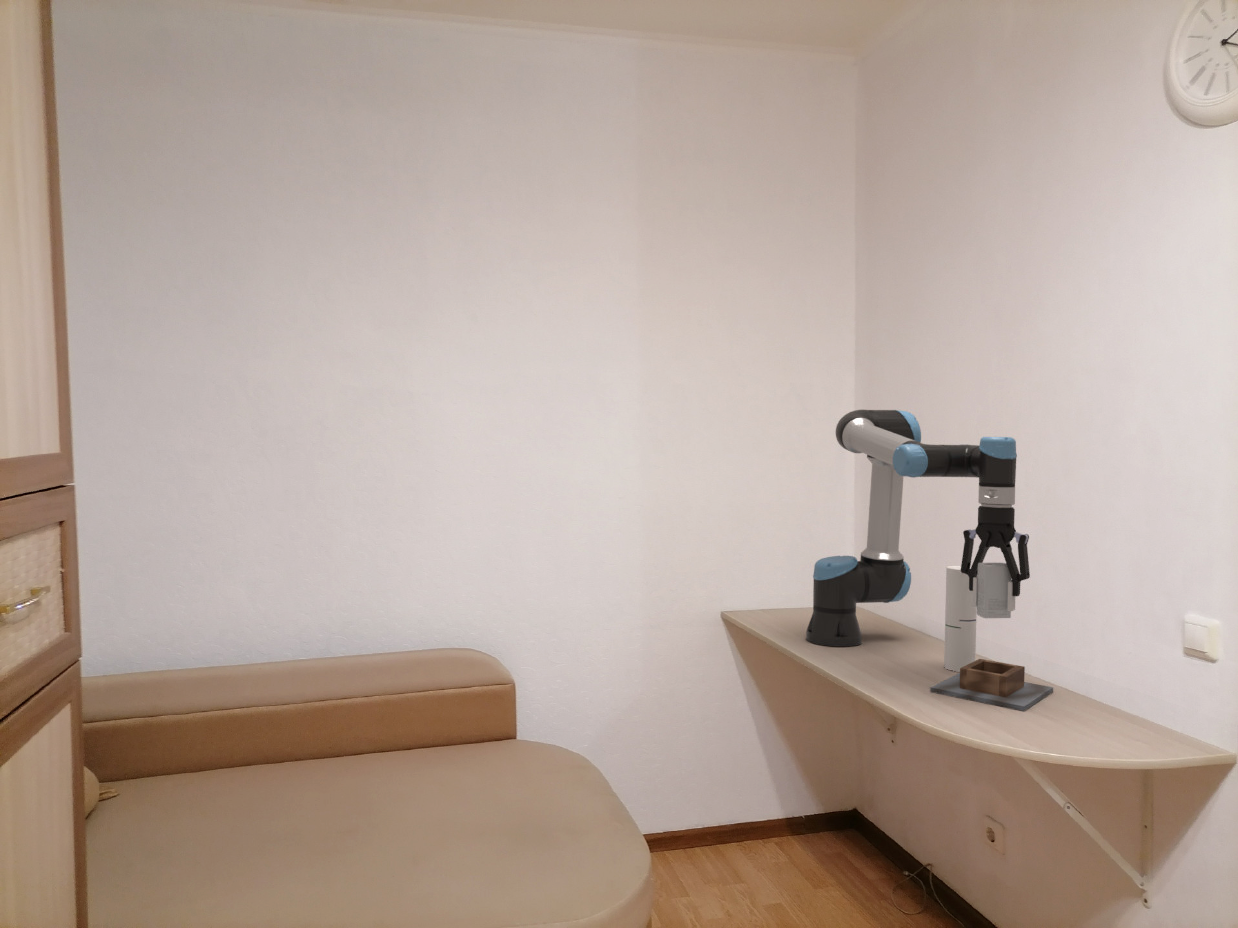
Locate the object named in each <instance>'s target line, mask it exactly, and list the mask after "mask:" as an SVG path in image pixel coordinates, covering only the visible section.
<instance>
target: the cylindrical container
mask: <svg viewBox="0 0 1238 928" xmlns="http://www.w3.org/2000/svg"><path fill="white" fill-rule="evenodd" d="M970 569H971V566H970ZM945 572H946V573H945V574H946V575H945V576H946V577H945V579H946V580H945V611H944V612H945V614H944V615H945V617H944V619H945V620H944V621H945V622H944V623H945V624H944V651H943V655H944V656H943V658H944V659H943V668H944V667H945V668H944V669H945V670H947V669H948V670H947V671H950V670H953V671H952V672H954V671H956V673H960V668H962V667H964V666H966V665H968V664H970V663H972V662H974V661H976V651H977V650H976V647H977V646H976V645H977V643H976V642H977V607H974V606H973V591H970V590H969V576H968V575H967V574H965V573H962V572H961V565H950V566H949V565H948V566H946V571H945ZM977 576H978V575H977Z"/></svg>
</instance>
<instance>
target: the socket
mask: <svg viewBox="0 0 1238 928" xmlns="http://www.w3.org/2000/svg"><path fill="white" fill-rule="evenodd" d="M1025 670H1026V668H1025V665H1023V666H1022V665H1018V664H1013V663H1005V662H1002V661H1001V662H1000V661H995V660H989V659H985V658H984V659H982V658H979V659H975V661H974V662H972V663H970V664H968V665H966V666H964V667H962V668H960V672H957V674H955V675H953V676H951V677H949V678H946V679H945V680H943V681H940V682H938V683H937V684H934V685H932V686H931V687H930V689H929V691H931V692H930V693H934V692H937V693H936V694H939V693H940V695H943V694H946V695H945V696H948V695H949V696H948V697H953V696H955V698H959V699H962V700H968V699H969V701H973V702H976V703H977V702H979V703H982V704H983V703H984V704H987V705H988V704H989V705H992V706H997V707H1003V708H1006V709H1012V710H1016V711H1021V712H1025V711H1027V710H1028V709H1030V708H1031V707H1032V706H1034V705H1036V704H1038V703H1039V702H1040V701H1041V700H1043V699H1045V698H1046V697H1048V696H1049V695H1050V694H1052V693H1053V692H1054V687H1053V686H1048V685H1043V684H1038V683H1037V684H1036V683H1032V682H1028V681H1025V675H1026V674H1025Z"/></svg>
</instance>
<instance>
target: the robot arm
mask: <svg viewBox="0 0 1238 928" xmlns="http://www.w3.org/2000/svg"><path fill="white" fill-rule="evenodd" d="M835 438H836V441H837V443H838V444H839V445H840V447H841V448H843V449H845V450H846V451H849V452H850V453H853V454H865V455H866V458H867V459H868V461H869V462H870V463H871V477H870V493H869V505H868V523H867V539H866V540H867V541H866V548H865V549H863V550H862V551H861V552H860V558H859V559H860V560H859V561H858V559H857V557H855V556H853V555H833V556H826V557H822V558H820V559H817V561H816V562H815V563H814V566H813V574H812V578H813V590H812V591H813V593H812V594H813V595H812V596H813V597H812V598H813V599H812V600H813V601H812V604H813V605H812V606H813V607H812V608H813V609H812V613H811V617H810V620H809V622H808V626H807V628H806V632H805V634H806V635H805V639H806V641H808V642H809V643H813V644H815V645H821V646H827V647H843V648H844V647H854V646H858V645H862V642H863V634H862V631H861V626H860V624H859V620H858V617H857V604H862V603H863V604H865V603H866V604H867V603H870V604H871V603H874V604H875V603H884V604H889V603H893V602H899V601H902V600H903V599H904V597H906V596H907V595H908V592H909V591H910V588H911V584H912V573H911V572H910V571H911V568H910V565H909V563H908V562H906V561H905V560H904V559H905V557H904V555H903V554H902V553H901V552H900V550H899V549H900V547H899V546H900V545H899V544H900V532H901V521H902V520H901V519H902V518H901V517H902V504H903V503H902V502H903V490H904V477H909V478H913V479H914V478H926V477H927V478H930V477H931V478H935V477H936V478H978V498H977V499H978V503H979V504H980V505H979V507H978V508H977V526H976V527H975V529H965V530H963V532H962V534H963V538H964V543H963V551H962V559H961V563H960V564H961V565H960V566H961V572H962V573H965V574H967V575H968V576H969V590H970V591H973V606H974V607H977V577H978V576H977V575H978V563H984V560H985V557H986V556H987V552H988V551H989V549H990V548H993V547H994V548H997V549H1000V551H1001V553H1002V555H1003V557H1004V561H1005V563H1006V564H1007V567H1008V570H1009V573H1010V576H1011V581H1009V582H1008V608H1007V611H1011V612H1013V611H1016V597H1019V596H1020V595H1021V582H1022V581H1025V580H1026V581H1027V580H1028V579H1030V578H1031V575H1030V563H1029V553H1028V551H1029V550H1028V543H1029V540H1030V539H1029V538H1030V535H1029V534H1028V533H1025V534H1023V533H1020V532H1017V531H1016V528H1015V516H1016V515H1015V511H1016V510H1015V508H1014V507H1013V506H1014V505H1015V504H1016V476H1017V471H1016V470H1017V456H1018V455H1017V442H1016V439H1015V438H1014V437H1011V436H983V437H981V438H980V439H979V440H980V441H979V445H978V444H977V445H976V444H927V443H926V444H925V443H922V442H921V441H922V430H921V427H920V423H919V421H918V420H917V418H916V416H915V415H914V414H912V413H911V412H910V411H907V410H906V411H905V410H900V409H899V410H898V409H856V410H852V411H849V412H848V413H846V414H845V415H843V416H842V417H841V418H840V419H839V420H838V423H837V424H836V426H835ZM976 536H978V538H979V540H980V543H979V545H978V550H977V552H976V555H975V557H974V559H973V562H972V557H973V551H974V544H975V538H976ZM1014 538H1015V541H1016V543H1017V553H1018V565H1017V561H1016V559H1015V555H1014V554H1013V548H1012V545H1011V542H1012V540H1014ZM1018 566H1019V568H1018ZM970 567H971V569H970Z"/></svg>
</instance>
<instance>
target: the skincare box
mask: <svg viewBox="0 0 1238 928" xmlns="http://www.w3.org/2000/svg"><path fill="white" fill-rule="evenodd" d="M1011 580H1012V579H1011V576H1010V573H1009V570H1008V567H1007V564H1006V562H983V563H978V577H977V614H976V616H979V617H981V618H983V619H1011V612H1012V611H1007V608H1008V582H1009V581H1011Z"/></svg>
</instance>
